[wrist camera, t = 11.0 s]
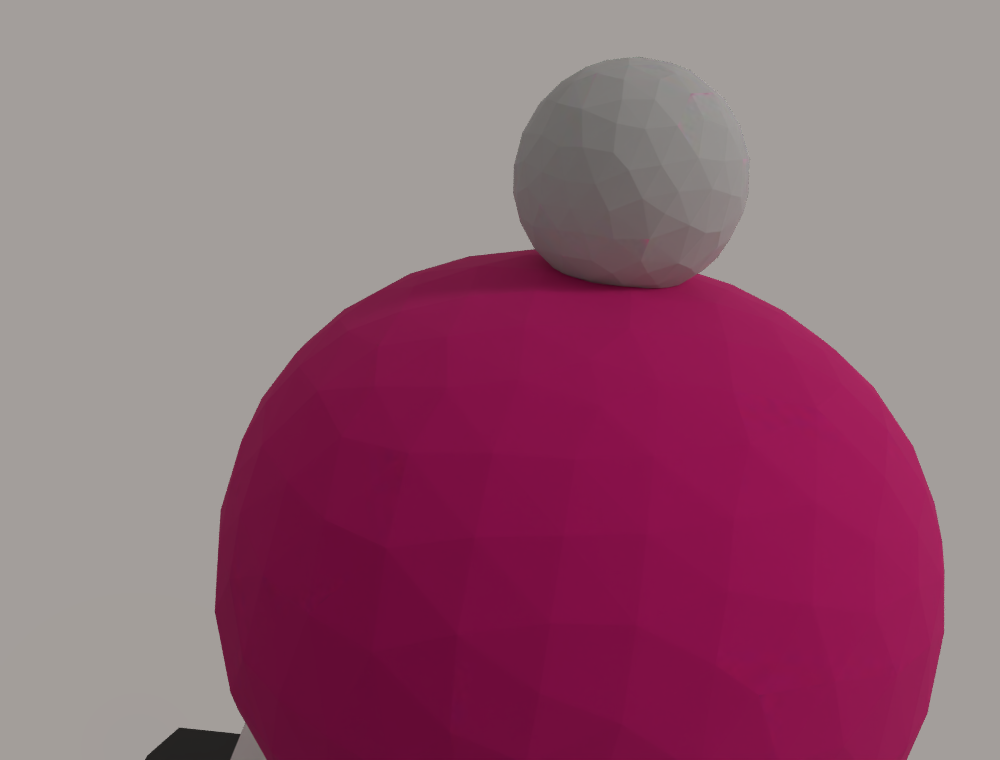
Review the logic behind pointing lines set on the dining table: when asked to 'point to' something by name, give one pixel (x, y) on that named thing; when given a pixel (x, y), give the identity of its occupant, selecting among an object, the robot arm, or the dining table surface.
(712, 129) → the pepper mill
